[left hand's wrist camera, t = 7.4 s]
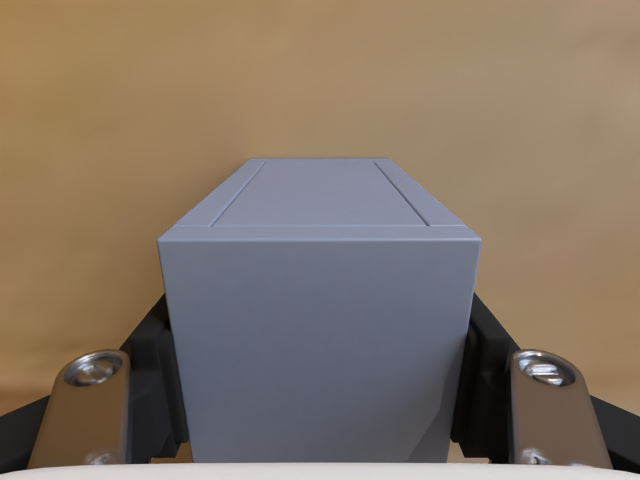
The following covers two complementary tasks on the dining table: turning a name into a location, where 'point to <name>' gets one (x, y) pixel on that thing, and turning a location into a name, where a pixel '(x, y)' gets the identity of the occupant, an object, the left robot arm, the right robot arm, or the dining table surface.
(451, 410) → the cabinet
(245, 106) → the dining table surface
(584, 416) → the left robot arm
